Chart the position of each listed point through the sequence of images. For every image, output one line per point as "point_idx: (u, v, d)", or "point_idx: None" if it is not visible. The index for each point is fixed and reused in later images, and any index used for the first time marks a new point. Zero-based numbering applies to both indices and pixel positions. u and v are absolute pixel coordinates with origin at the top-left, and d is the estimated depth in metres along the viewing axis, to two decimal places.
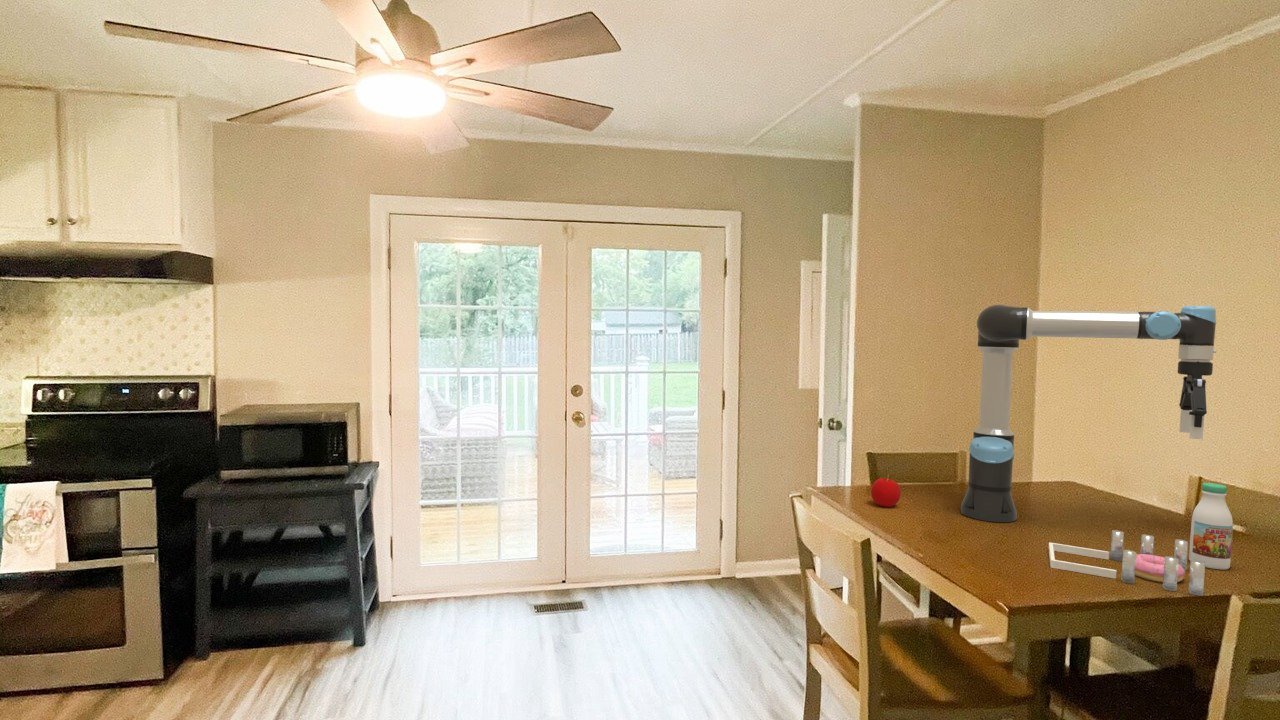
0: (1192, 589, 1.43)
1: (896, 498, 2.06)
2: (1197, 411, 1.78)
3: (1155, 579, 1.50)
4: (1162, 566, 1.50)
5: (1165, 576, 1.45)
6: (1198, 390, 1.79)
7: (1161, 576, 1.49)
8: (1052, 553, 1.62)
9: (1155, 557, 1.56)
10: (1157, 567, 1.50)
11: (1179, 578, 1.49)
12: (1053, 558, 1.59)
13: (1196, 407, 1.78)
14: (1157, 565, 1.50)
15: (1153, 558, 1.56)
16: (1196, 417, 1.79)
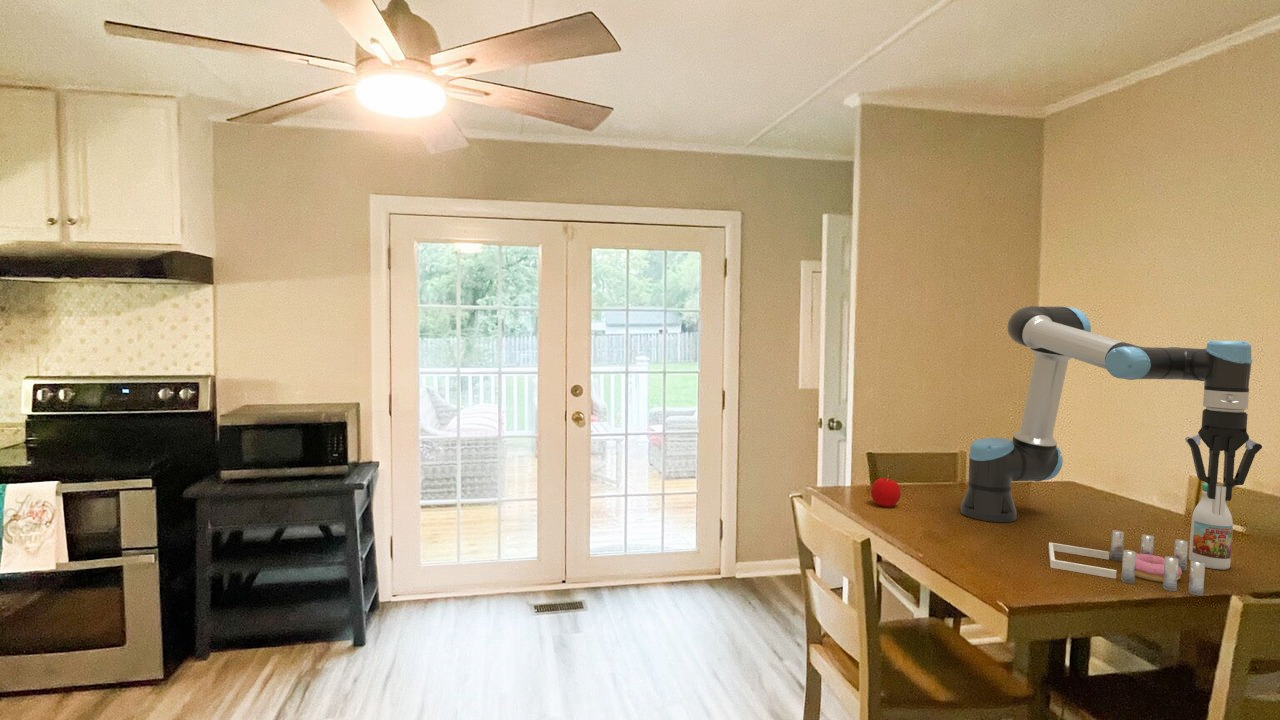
0: (1192, 589, 1.43)
1: (896, 498, 2.06)
2: (1198, 476, 1.49)
3: (1152, 578, 1.50)
4: (1159, 565, 1.50)
5: (1165, 576, 1.45)
6: (1192, 452, 1.50)
7: (1158, 575, 1.49)
8: (1052, 553, 1.62)
9: (1152, 556, 1.56)
10: (1154, 566, 1.50)
11: None
12: (1053, 558, 1.59)
13: (1197, 473, 1.50)
14: (1154, 564, 1.50)
15: (1150, 557, 1.56)
16: None
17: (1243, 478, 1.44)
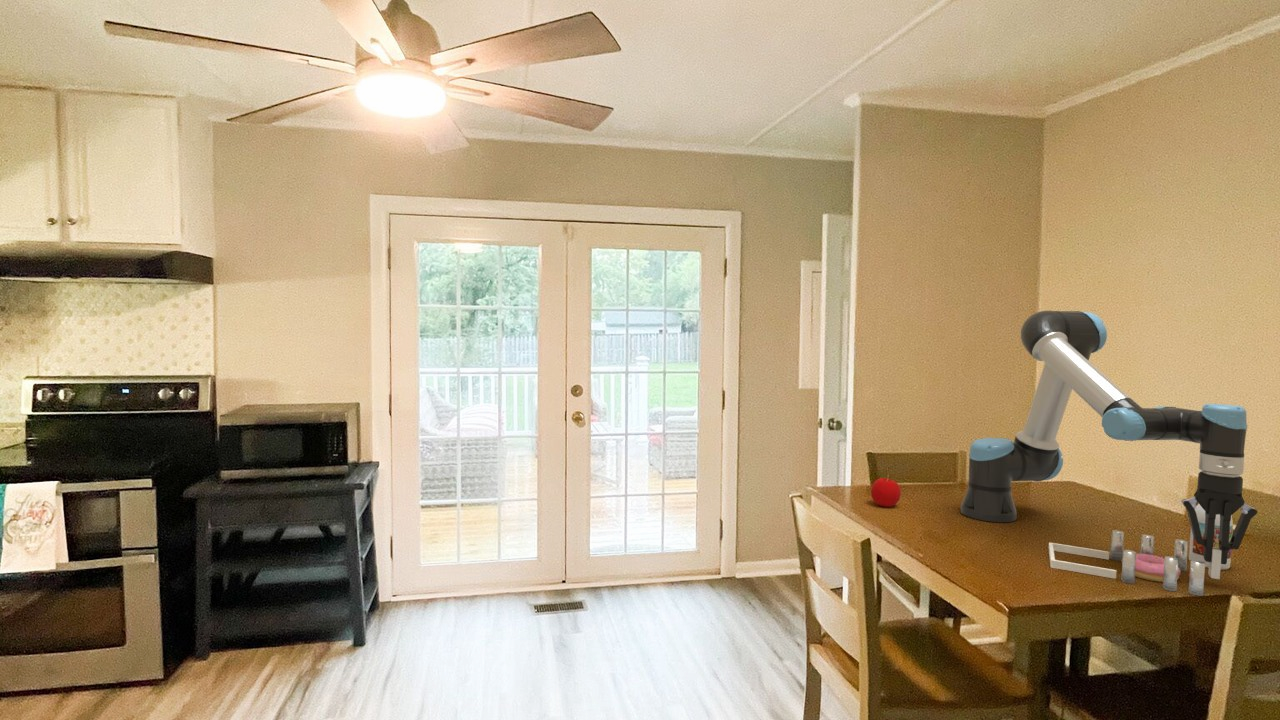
0: (1192, 589, 1.43)
1: (896, 498, 2.06)
2: (1194, 538, 1.50)
3: (1151, 578, 1.50)
4: (1158, 565, 1.50)
5: (1165, 576, 1.45)
6: (1188, 514, 1.50)
7: (1157, 575, 1.49)
8: (1052, 553, 1.62)
9: (1151, 556, 1.56)
10: (1153, 566, 1.50)
11: None
12: (1053, 558, 1.59)
13: (1193, 535, 1.50)
14: (1153, 564, 1.50)
15: (1149, 557, 1.56)
16: (1204, 548, 1.49)
17: (1238, 542, 1.45)
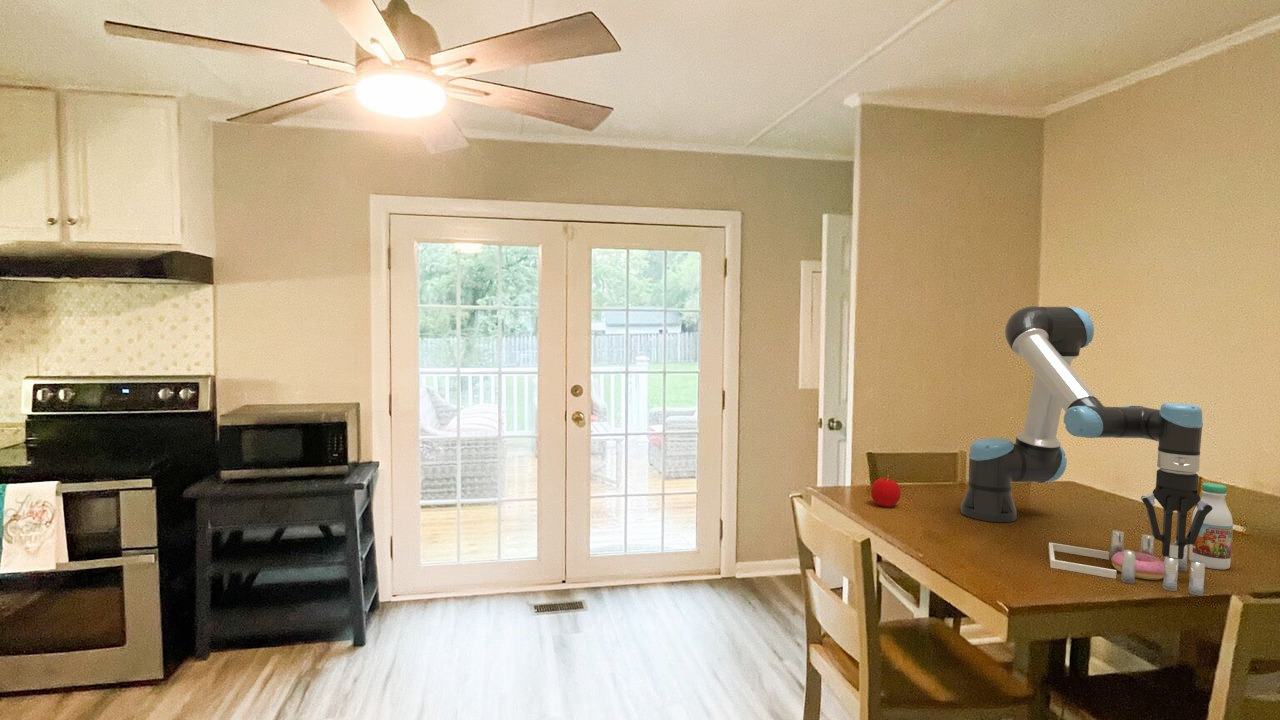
0: (1192, 589, 1.43)
1: (896, 498, 2.06)
2: (1153, 534, 1.54)
3: (1140, 576, 1.51)
4: (1147, 563, 1.51)
5: (1165, 576, 1.45)
6: (1147, 510, 1.54)
7: (1146, 573, 1.50)
8: (1052, 553, 1.62)
9: (1140, 554, 1.57)
10: (1142, 564, 1.51)
11: (1163, 575, 1.50)
12: (1053, 558, 1.59)
13: (1152, 531, 1.54)
14: (1142, 562, 1.51)
15: (1138, 555, 1.57)
16: (1162, 543, 1.53)
17: (1194, 538, 1.49)
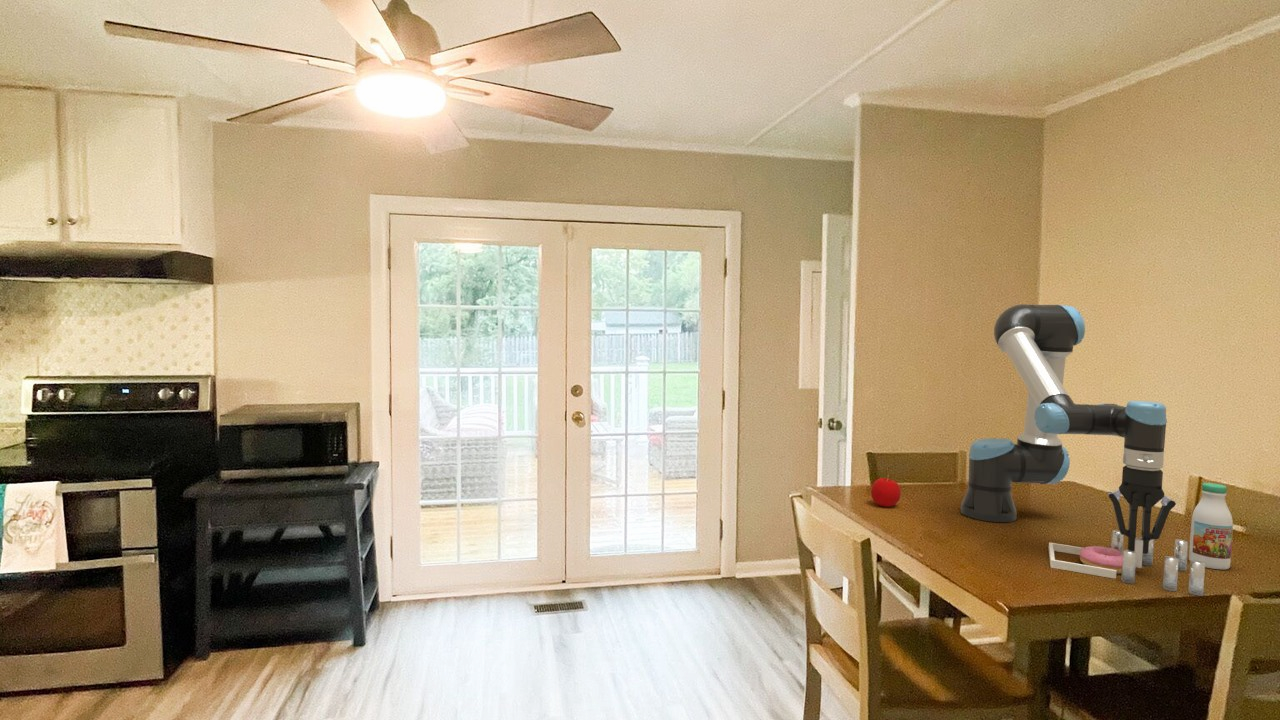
0: (1192, 589, 1.43)
1: (896, 498, 2.06)
2: (1119, 529, 1.57)
3: None
4: (1112, 557, 1.54)
5: (1165, 576, 1.45)
6: None
7: (1111, 567, 1.54)
8: (1052, 553, 1.62)
9: (1107, 549, 1.60)
10: (1107, 558, 1.54)
11: None
12: (1053, 558, 1.59)
13: (1118, 526, 1.58)
14: (1107, 556, 1.55)
15: (1105, 550, 1.60)
16: (1128, 538, 1.56)
17: (1158, 533, 1.52)
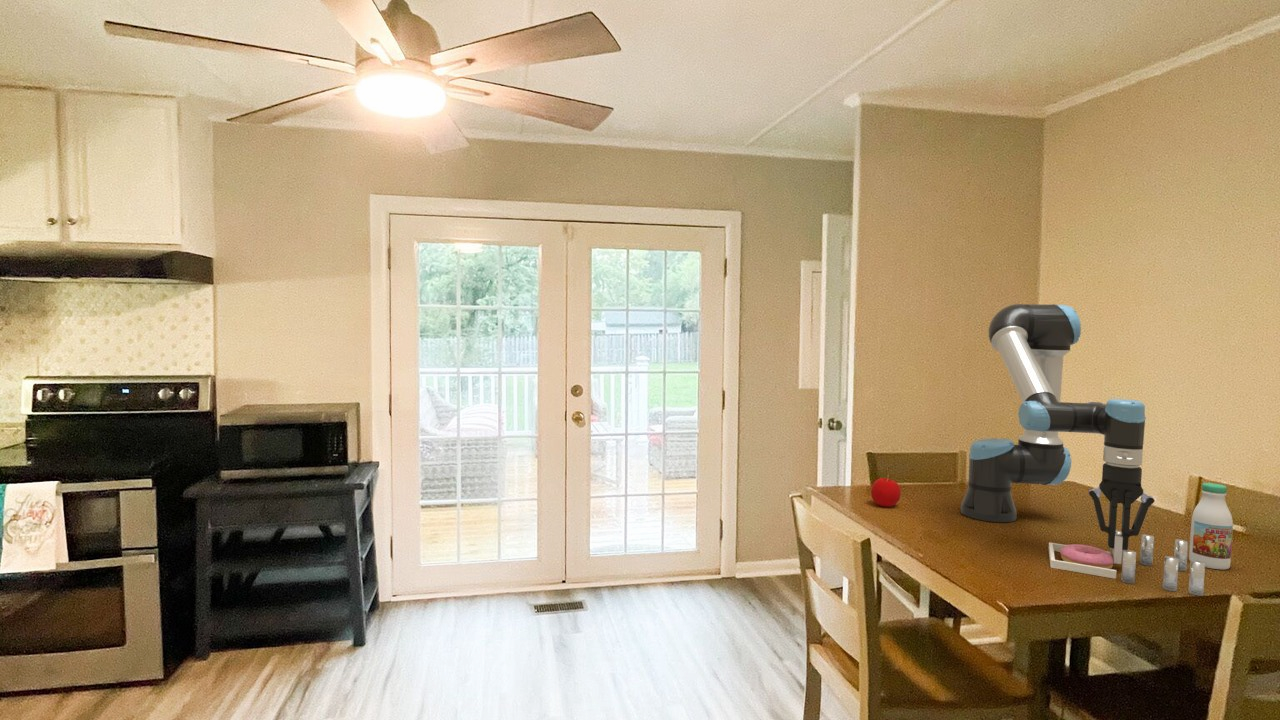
0: (1192, 589, 1.43)
1: (896, 498, 2.06)
2: (1099, 526, 1.59)
3: None
4: (1092, 555, 1.56)
5: (1165, 576, 1.45)
6: (1094, 503, 1.59)
7: (1090, 565, 1.55)
8: (1052, 553, 1.62)
9: (1088, 547, 1.62)
10: (1087, 556, 1.56)
11: (1108, 567, 1.55)
12: (1053, 558, 1.59)
13: None
14: (1087, 554, 1.57)
15: (1086, 548, 1.62)
16: (1108, 535, 1.58)
17: (1138, 529, 1.54)
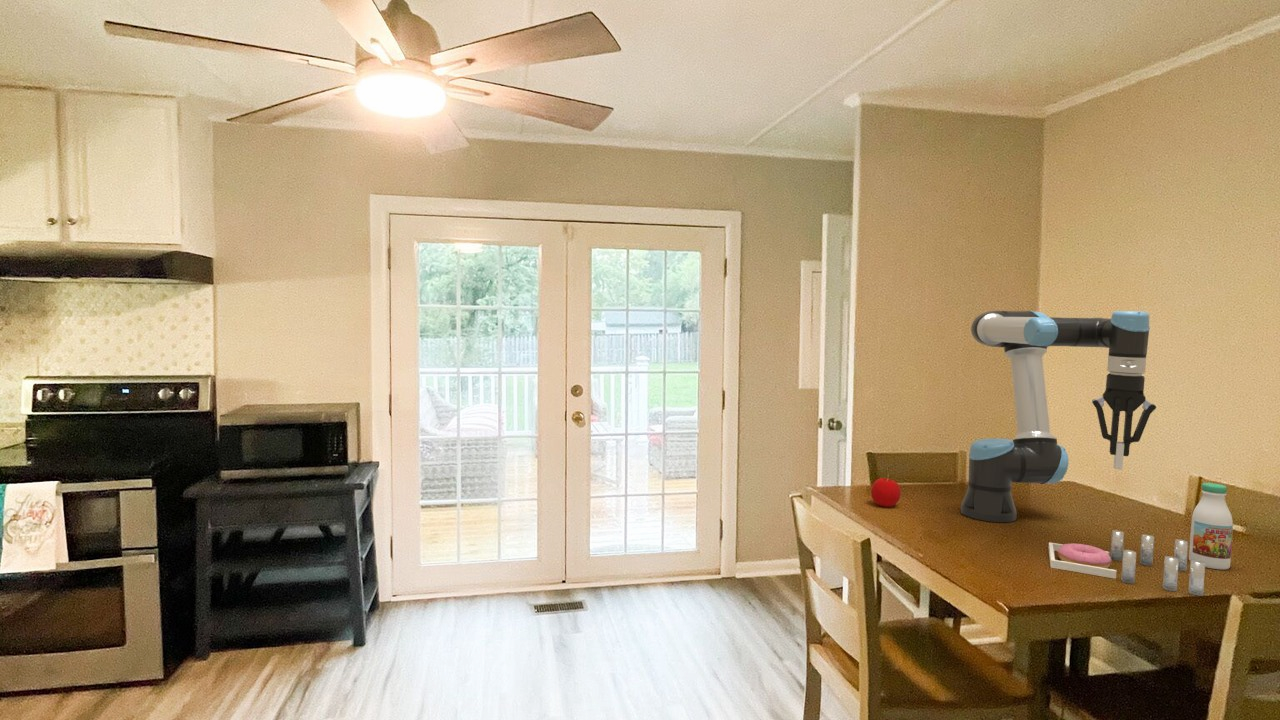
0: (1192, 589, 1.43)
1: (896, 498, 2.06)
2: None
3: None
4: (1089, 554, 1.56)
5: (1165, 576, 1.45)
6: (1097, 412, 1.65)
7: (1088, 564, 1.56)
8: (1052, 553, 1.62)
9: (1085, 546, 1.63)
10: (1084, 555, 1.57)
11: (1105, 566, 1.56)
12: (1053, 558, 1.59)
13: (1101, 432, 1.65)
14: (1085, 553, 1.57)
15: (1083, 547, 1.63)
16: (1110, 443, 1.64)
17: (1139, 435, 1.59)
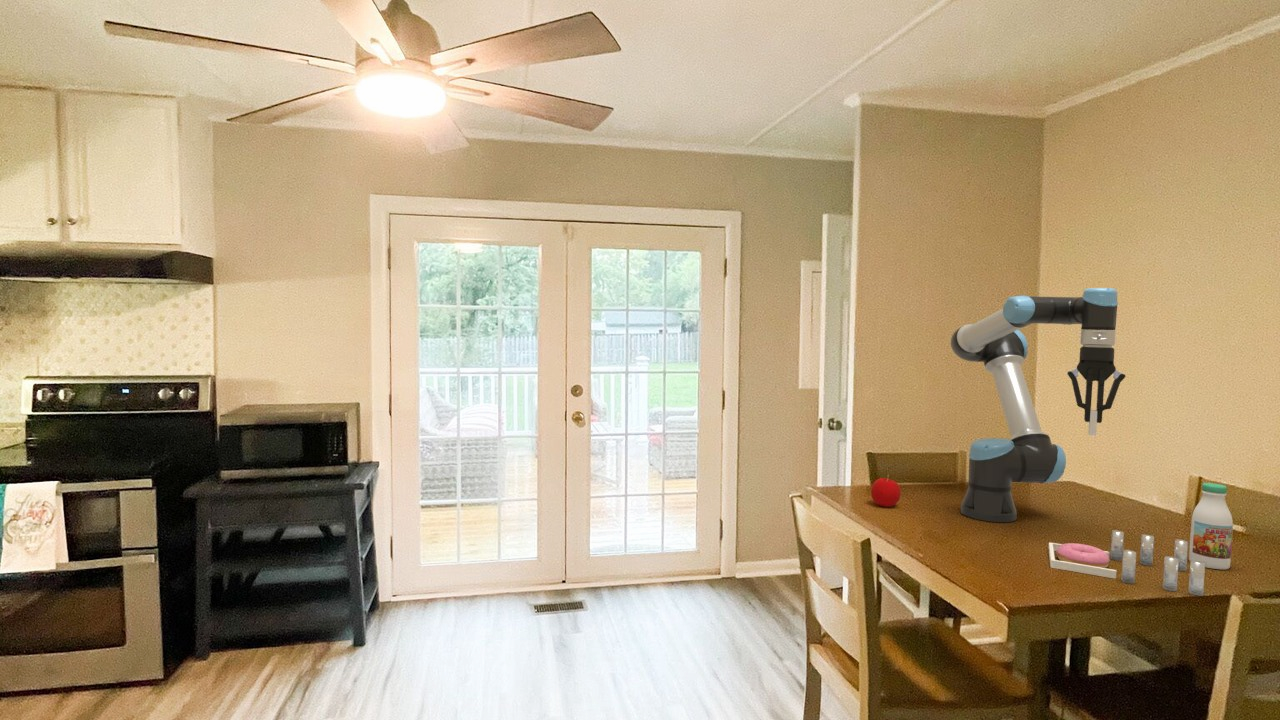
0: (1192, 589, 1.43)
1: (896, 498, 2.06)
2: None
3: None
4: (1088, 554, 1.57)
5: (1165, 576, 1.45)
6: (1072, 383, 1.77)
7: (1086, 563, 1.56)
8: (1052, 553, 1.62)
9: (1084, 546, 1.63)
10: (1083, 555, 1.57)
11: (1103, 565, 1.56)
12: (1053, 558, 1.59)
13: (1076, 401, 1.78)
14: (1083, 553, 1.57)
15: (1082, 547, 1.63)
16: None
17: (1110, 403, 1.72)
